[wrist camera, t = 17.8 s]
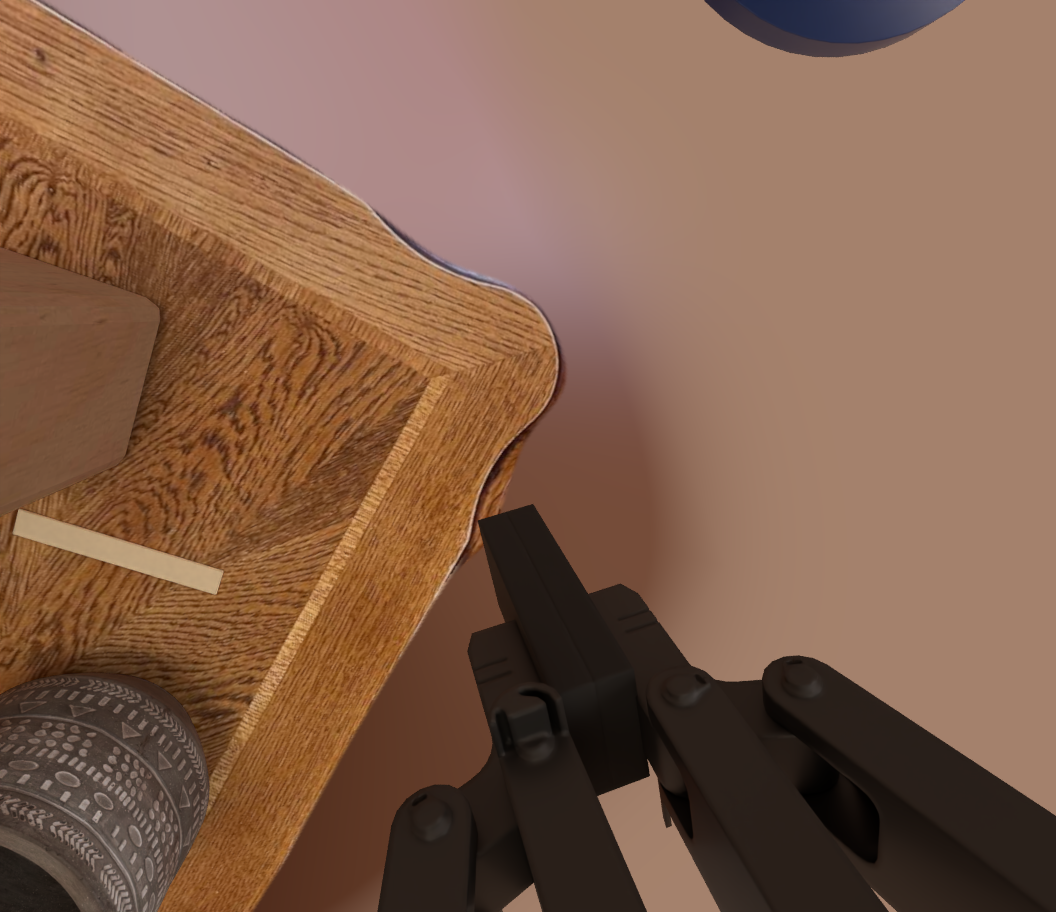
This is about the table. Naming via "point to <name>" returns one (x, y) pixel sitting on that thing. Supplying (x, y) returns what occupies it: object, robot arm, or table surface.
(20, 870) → the planter
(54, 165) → the table surface
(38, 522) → the tape strip
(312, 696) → the table surface
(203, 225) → the table surface
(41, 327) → the wooden block
